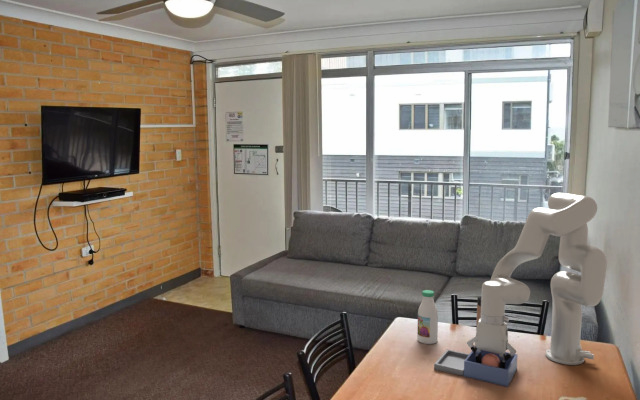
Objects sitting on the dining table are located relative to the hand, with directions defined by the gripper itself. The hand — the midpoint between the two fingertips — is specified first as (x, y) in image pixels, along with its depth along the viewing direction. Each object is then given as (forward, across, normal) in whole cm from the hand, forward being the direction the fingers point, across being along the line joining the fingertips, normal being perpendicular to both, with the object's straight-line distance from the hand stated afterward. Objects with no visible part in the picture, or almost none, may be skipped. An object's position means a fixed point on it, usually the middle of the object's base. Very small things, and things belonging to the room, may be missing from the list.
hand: (490, 368), depth 175 cm
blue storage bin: (+2, 0, 0) cm, 2 cm away
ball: (-2, 0, 0) cm, 2 cm away
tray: (+2, +12, 0) cm, 12 cm away
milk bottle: (+2, +28, -16) cm, 32 cm away
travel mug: (+2, +6, -19) cm, 20 cm away
